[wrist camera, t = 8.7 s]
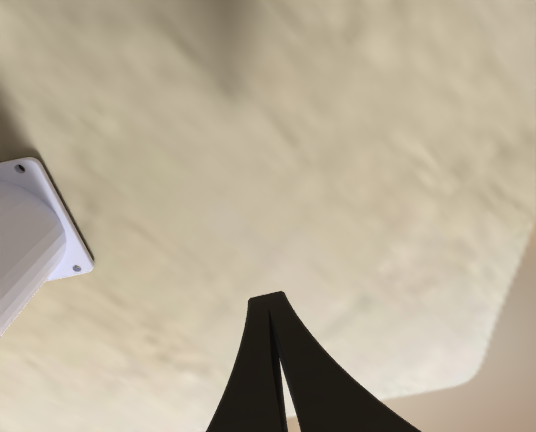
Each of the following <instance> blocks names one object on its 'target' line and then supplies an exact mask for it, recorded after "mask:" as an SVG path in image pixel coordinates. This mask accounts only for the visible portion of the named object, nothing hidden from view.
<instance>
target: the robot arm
mask: <svg viewBox="0 0 536 432" xmlns="http://www.w3.org/2000/svg"><path fill="white" fill-rule="evenodd" d="M18 165H22V166H23V167H24V168H25V171H22V170H21V169H20V168H19V166H18ZM75 265H78V266H80V267H81V268H77V267H76V266H75ZM93 267H94V262H93V260H92V258H91V256H90V254H89V252H88V250H87V249H86V247H85V245H84V243H83V241H82V239H81V237H80V235H79V234H78V232H77V230H76V228H75V226H74V224H73V222H72V220H71V219H70V217H69V215H68V213H67V211H66V209H65V207H64V205H63V204H62V202H61V200H60V198H59V196H58V194H57V192H56V190H55V189H54V187H53V185H52V183H51V181H50V179H49V177H48V175H47V174H46V172H45V170H44V168H43V166H42V164H41V163H40V161H39V160H37V159H36V158H33V157H25V158H20V159H15V160H10V161H5V162H0V337H1V336H2V335H3V333H4V332H5V331H6V330H7V328H8V327H9V326H10V325H11V323H12V322H13V321H14V320H15V318H16V317H17V316H18V315H19V313H20V312H21V311H22V310H23V308H24V307H25V306H26V305H27V304H28V302H29V301H30V300H31V299H32V297H33V296H34V295H35V294H36V292H37V291H38V290H39V289H40V287H41V286H42V285H43V284H44V282H46V281H51V280H55V279H60V278H64V277H69V276H74V275H78V274H83V273H87V272H90V271H91V270H92V269H93ZM279 358H280V359H279ZM280 361H281V365H282V368H283V371H284V375H285V378H286V381H287V385H288V388H289V391H290V395H291V398H292V401H293V405H294V408H295V411H296V415H297V418H298V422H299V426H300V430H301V432H421V431H420V430H418V429H417V428H415V427H414V426H412V425H411V424H410V423H408V422H407V421H406V420H404V419H403V418H401V417H400V416H398V415H397V414H396V413H395V412H393V411H392V410H391V409H389V408H388V407H387V406H386V405H384V404H383V403H382V402H380V401H379V400H378V399H377V398H376V397H374V396H373V395H372V394H371V393H370V392H368V391H367V390H366V389H365V388H364V387H363V386H361V385H360V384H359V383H358V382H357V381H356V380H354V379H353V378H352V377H351V376H350V375H349V374H348V373H347V372H346V371H345V370H344V369H343V368H342V367H341V366H340V365H339V364H338V363H337V362H336V361H335V360H334V359H333V358H332V357H331V356H330V355H329V354H328V353H327V352H326V351H325V350H324V349H323V347H322V346H321V345H320V344H319V343H318V342H317V340H316V339H315V338H314V337H313V336H312V334H311V333H310V332H309V331H308V329H307V328H306V327H305V325H304V324H303V323H302V321H301V320H300V319H299V317H298V316H297V314H296V313H295V311H294V310H293V308H292V306H291V305H290V303H289V301H288V299H287V297H286V295H285V293H284V292H282V291H279V292H275V293H270V294H266V295H261V296H257V297H253V298H250V299H249V300H248V310H247V317H246V322H245V328H244V332H243V336H242V340H241V344H240V348H239V351H238V354H237V357H236V361H235V364H234V367H233V370H232V373H231V376H230V378H229V381H228V384H227V386H226V389H225V391H224V394H223V396H222V398H221V401H220V403H219V405H218V407H217V410H216V412H215V414H214V416H213V418H212V420H211V422H210V425H209V427H208V429H207V431H206V432H288V428H287V421H286V413H285V404H284V395H283V386H282V377H281V368H280Z"/></svg>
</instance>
